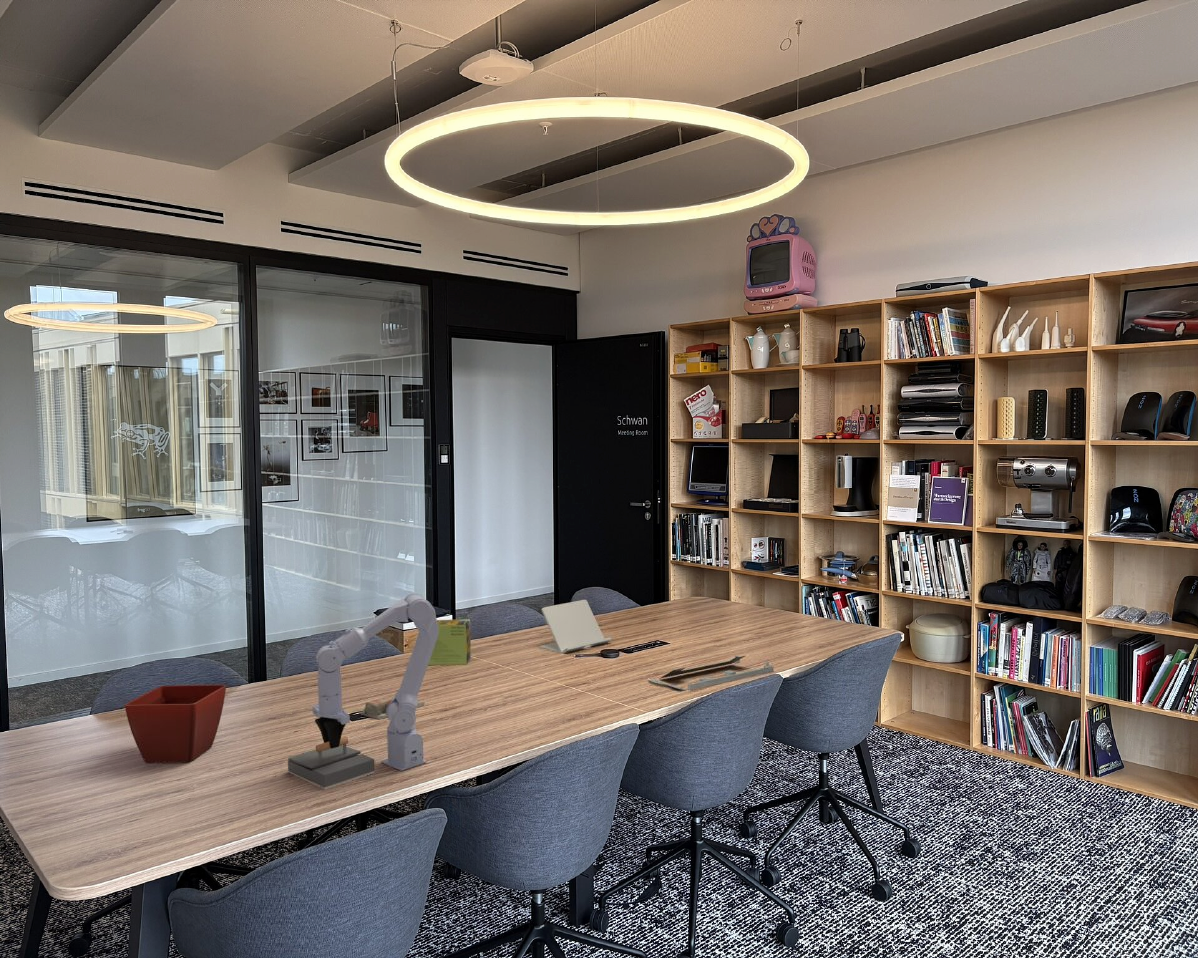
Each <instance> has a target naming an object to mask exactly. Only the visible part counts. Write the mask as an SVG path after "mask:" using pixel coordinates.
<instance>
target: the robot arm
mask: <svg viewBox="0 0 1198 958" xmlns="http://www.w3.org/2000/svg"><path fill="white" fill-rule="evenodd" d="M436 615H437V614H436V610H435V608H434V606H433V605H432V604H431V602H430V601H428V600H427V599H425V598H424V597H423V596H422V595H421V594H418V593H410V594H409V595H407V596H406V597H405V598H402V599H399V600H398V601H397V602H395V603H394V604H393V605H391V606H390V607H388V608H387V609H386V610H384V611H383V612H382V613H380V614H379V615H377V617H375V618H374V619H372V620H371V621H370V622H368V623H366V624H365V625H364V626H363V627H353V628H347V629H346V630H344V632H345V633H344V634H342V635H341V636H339V637H338V638H336V639H335V640H334V641H333V640H331V641H329V642H328V643H329V644H328V645H324V646H322V647H321V648H319V649H318V651H317V653H316V656H315V661H316V664H318V667H317V669H318V670H317V674H318V676H317V691H318V693H317V694H318V704H317V705H315V704H314V705H312V714H314V716H315V717H316V718H315V720H314V722H315V724H316V725H317V727H318V729H319V732H320V734H321V737H322V741H323V743H326V742H329V744H330V748H332V749H333V748H336V747H339V744H340V739H341V738H342V735H343V731H344V729H345V727H346V726H347V724H350V723H351V720H350V719H351V717H350V714H349V713H347V712H346V710H344V709H343V696H342V695H343V693H342V689H343V688H342V673H341V667H342V664H343V661H346V660H348V659H350V658H351V657H353V656H354V655H356V654H357V653H358V652H360V651H361V650H363V649H365V648H366V647H367V646H368V642H369V640H370V638H371V639H372V637H374V636H375V635H377V634H378V633H380V632H382V631H383V630H385V629H387V628H389V627H390V626H392V625H393V624H394V623H409V620H408V619H410V620H411V621H412V622H413V624H414V626H415V627H416V629H417V631H418V635H417V637H416V640H415V644H414V646H413V648H412V649H413V650H412V651H411V654H410V658H409V660H408V663H407V666H406V669H405V672H404V675H403V677H402V681H401V684H400V686H399V689H398V690H397V691H396V693H395V694H394V695H395V697H394V699H393V700H392V702H391V703H390V704H389V705H388V706H387V709H386V715H387V718H386V719H387V720H389V724H388V726H387V728H386V736H387V737H386V739H387V740H386V741H387V742H386V743H387V758H385V759H382V760H380V763H381V764H384V765H386V766H389V767H391V768H394V769H396V770H398V771H406V770H408V769H411V768H414V767H417V766H420V765H422V764H425V763H427V760H426V759H424V741H423V740H424V739H423V737H422V736H421V734H419V733H418V732H417V730H416V720H417V718H416V717H417V716H416V710H417V709H418V708H417V701H418V695H419V692H420V690H421V687H422V683H423V680H424V677H425V675H426V672H427V669H428V666H429V665H428V664H429V661H430V658H431V655H432V652H433V649H434V646H435V643H436V640H437V638H438V635H439V627H438V623H437V620H438V619H437V616H436Z"/></svg>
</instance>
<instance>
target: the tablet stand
mask: <svg viewBox="0 0 1198 958" xmlns="http://www.w3.org/2000/svg"><path fill="white" fill-rule="evenodd" d="M541 613H542V615H543V617H544V619H545V621H546V623H547V626H548V628H549V630H550V632H551V635H552V637H553V639H554V642H552V643H547V644H543V645H539V647H538V648H539V649H542V650H547V651H551V652H555V653H560V654H566V653H571V652H575V651H580V650H583V649H587V648H591V647H595V646H599V645H603V644H607V643H609V642H610V641H612V637H611V636H610V637H606V638H605V636H604V634H603V632H602V630H601V629H600V626H599V624H598V622H597V620H596V618H595V615H594V613H593V611H592V609H591V607H590V605H589V602H588V601H587V599H580V600H576V601H570V602H566V603H560V604H555V605H550V606H545V607H542V608H541Z"/></svg>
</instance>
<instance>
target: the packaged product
mask: <svg viewBox="0 0 1198 958" xmlns="http://www.w3.org/2000/svg"><path fill="white" fill-rule="evenodd" d="M394 697H395V694H391V695H388V696H385V697H384V696H383V697H381V698H377V699H374V700H370V701H368V702H365V707H364V709H363V710H362V711H360V712H359V714H360V715H361V716H365V717H367V718H368V717H369V718H371V717H372V719H376V720H380V721H382V720H385V719H388V718H387V715H386V709H387V706H388V705H389V704H390V703H391V702H392V700H393V699H394ZM425 703H426V702H425V701H421V700H417V708H416V709H418V708H419V709H420V708H421V707H424V706H425ZM381 719H382V720H381Z"/></svg>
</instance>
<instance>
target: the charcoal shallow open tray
mask: <svg viewBox="0 0 1198 958" xmlns="http://www.w3.org/2000/svg"><path fill="white" fill-rule="evenodd" d="M287 768H288V769H287V771H288V773H289V772H290V774H292V775H293V774H294V775H293V776H296V777H298V778H300V779H302V780H304V781H306V782H308V783H311V784H312V785H315V786H316V785H317V786H316V787H317V788H320V787H321V789H323V790H324V789H325V791H326V790H329V789H333V788H334V787H338V786H340V785H343V784H346V782H347V783H350V782H352V780H353V781H355V780H359V779H361V777H362V778H364V777H367V775H368V776H370V774H371V775H373V774H375V772H376V771H375V758H372V757H370V756H368V755H365V754H363V753H361V754H358V755H355V756H352V757H348V758H345V759H342V760H339V761H336V762H333V763H329V764H326V765H323V766H320V767H317V768H313V769H311V768H308V767H306V766H303V765H300V764H297V763H295V762H292V761H289V760H287ZM337 785H338V786H337Z"/></svg>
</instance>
